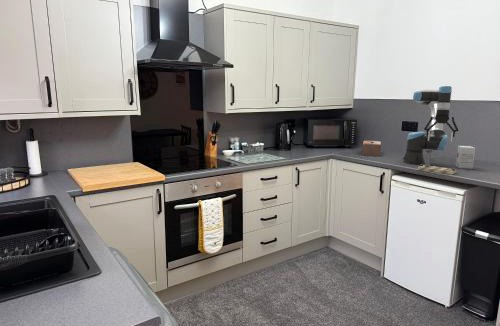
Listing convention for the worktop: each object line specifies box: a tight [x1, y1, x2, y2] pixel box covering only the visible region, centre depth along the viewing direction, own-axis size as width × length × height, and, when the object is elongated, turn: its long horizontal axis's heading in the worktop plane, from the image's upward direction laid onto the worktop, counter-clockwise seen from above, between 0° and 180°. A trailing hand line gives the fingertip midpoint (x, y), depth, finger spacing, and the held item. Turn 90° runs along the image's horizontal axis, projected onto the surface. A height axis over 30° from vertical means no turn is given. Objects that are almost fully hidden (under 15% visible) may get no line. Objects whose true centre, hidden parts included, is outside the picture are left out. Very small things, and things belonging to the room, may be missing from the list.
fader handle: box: [424, 150, 433, 167], centre depth 237 cm, size 2×4×11 cm, turn 136°
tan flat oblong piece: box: [417, 164, 457, 175], centre depth 234 cm, size 21×10×3 cm, turn 46°
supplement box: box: [455, 145, 476, 170], centre depth 248 cm, size 9×9×15 cm
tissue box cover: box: [361, 140, 382, 157], centre depth 306 cm, size 26×14×10 cm, turn 160°
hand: (439, 141), depth 234 cm, fingers open, 13 cm apart
